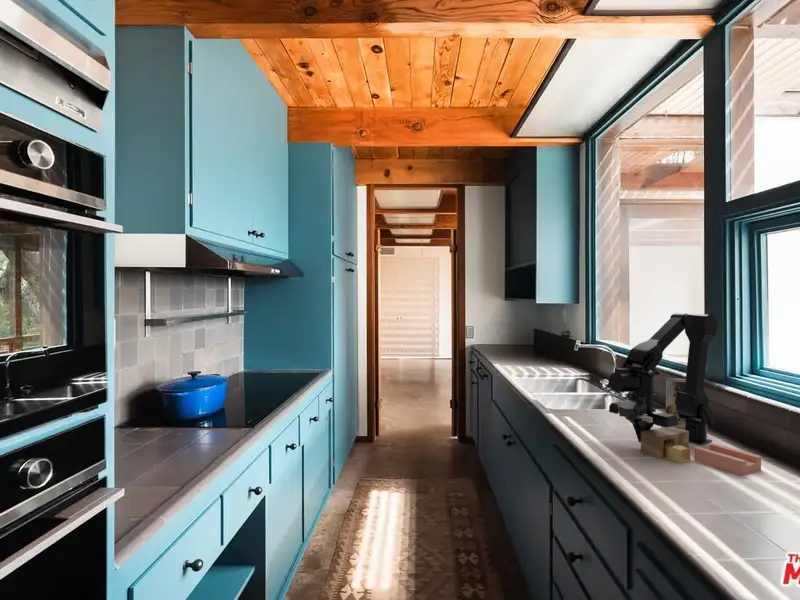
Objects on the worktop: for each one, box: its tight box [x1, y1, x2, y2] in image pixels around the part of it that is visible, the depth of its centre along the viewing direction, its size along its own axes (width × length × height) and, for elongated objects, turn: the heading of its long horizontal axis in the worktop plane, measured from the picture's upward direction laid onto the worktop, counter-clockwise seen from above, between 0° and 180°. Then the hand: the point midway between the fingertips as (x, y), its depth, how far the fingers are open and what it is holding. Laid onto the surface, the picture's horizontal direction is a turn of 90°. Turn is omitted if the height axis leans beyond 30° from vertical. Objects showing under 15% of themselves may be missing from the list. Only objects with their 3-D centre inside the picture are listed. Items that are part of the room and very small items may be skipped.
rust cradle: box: [693, 442, 762, 476], centre depth 128 cm, size 9×12×4 cm
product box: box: [665, 377, 686, 429], centre depth 165 cm, size 9×6×16 cm
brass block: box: [662, 441, 692, 464], centre depth 135 cm, size 12×4×4 cm, turn 28°
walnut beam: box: [640, 426, 690, 460], centre depth 138 cm, size 13×6×6 cm, turn 119°
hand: (640, 442), depth 141 cm, fingers closed
